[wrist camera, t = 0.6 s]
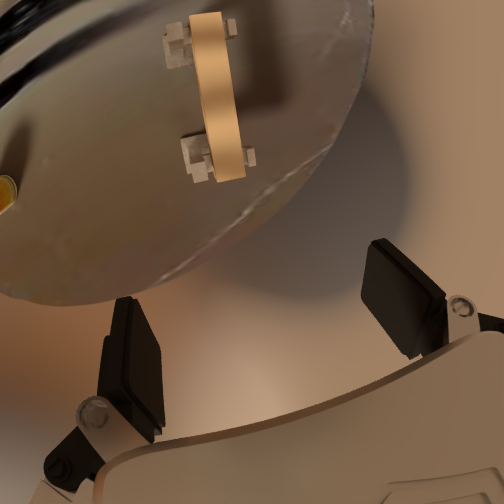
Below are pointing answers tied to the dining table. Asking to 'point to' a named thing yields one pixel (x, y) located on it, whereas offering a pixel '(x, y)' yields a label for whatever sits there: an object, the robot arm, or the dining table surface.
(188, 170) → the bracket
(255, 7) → the dining table surface
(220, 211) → the dining table surface
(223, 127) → the rail
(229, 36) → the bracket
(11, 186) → the supplement bottle
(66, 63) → the dining table surface
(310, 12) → the dining table surface
